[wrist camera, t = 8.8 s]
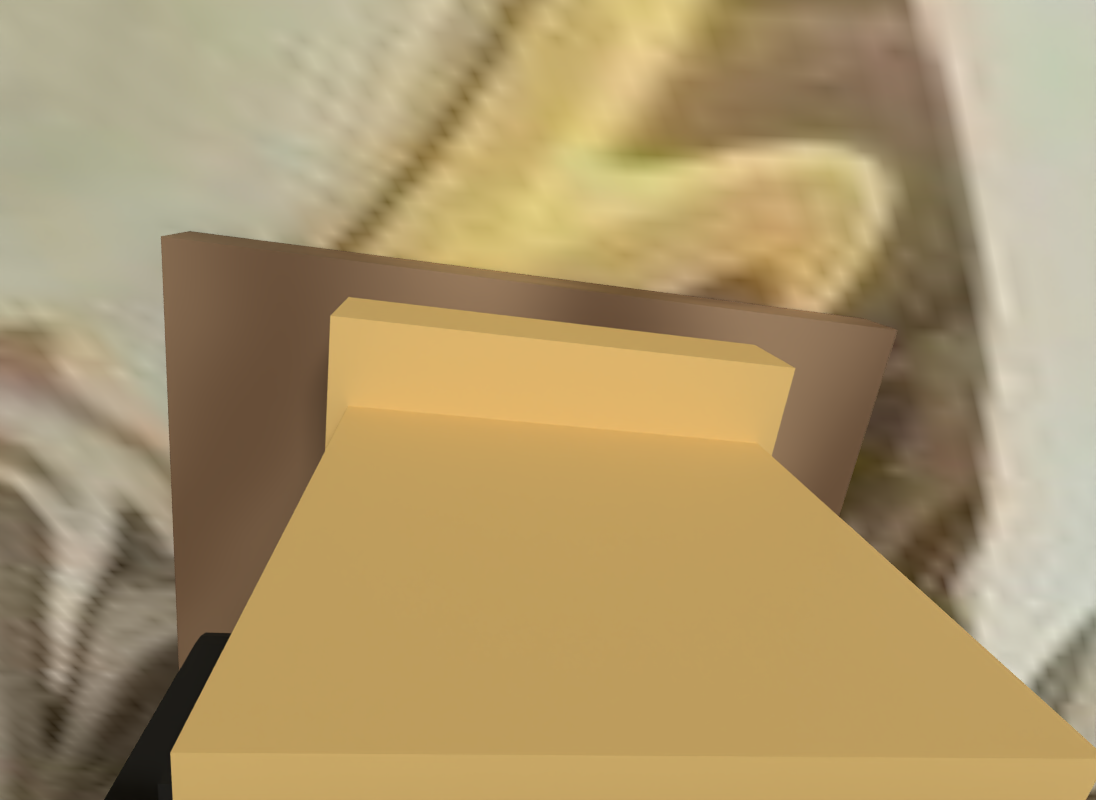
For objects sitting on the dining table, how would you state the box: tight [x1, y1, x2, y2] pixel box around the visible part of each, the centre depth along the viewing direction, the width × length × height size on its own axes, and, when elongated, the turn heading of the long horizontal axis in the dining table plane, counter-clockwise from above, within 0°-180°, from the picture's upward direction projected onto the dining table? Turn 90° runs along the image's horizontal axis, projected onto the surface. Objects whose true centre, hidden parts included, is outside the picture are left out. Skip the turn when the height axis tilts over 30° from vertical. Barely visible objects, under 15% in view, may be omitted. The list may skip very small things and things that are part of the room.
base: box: [161, 231, 897, 670], centre depth 13 cm, size 14×18×5 cm
